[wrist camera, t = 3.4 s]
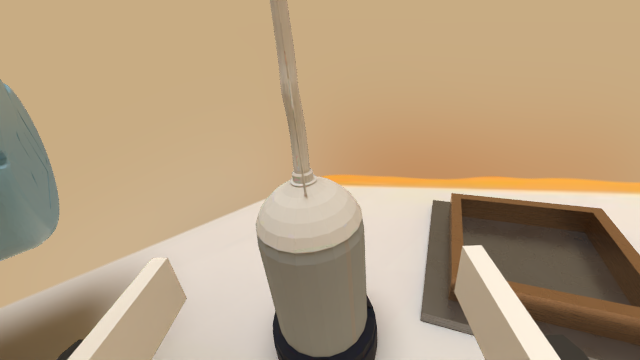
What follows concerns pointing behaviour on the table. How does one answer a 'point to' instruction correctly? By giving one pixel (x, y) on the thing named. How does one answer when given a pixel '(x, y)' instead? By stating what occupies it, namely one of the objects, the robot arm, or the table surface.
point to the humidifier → (313, 245)
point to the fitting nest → (541, 269)
